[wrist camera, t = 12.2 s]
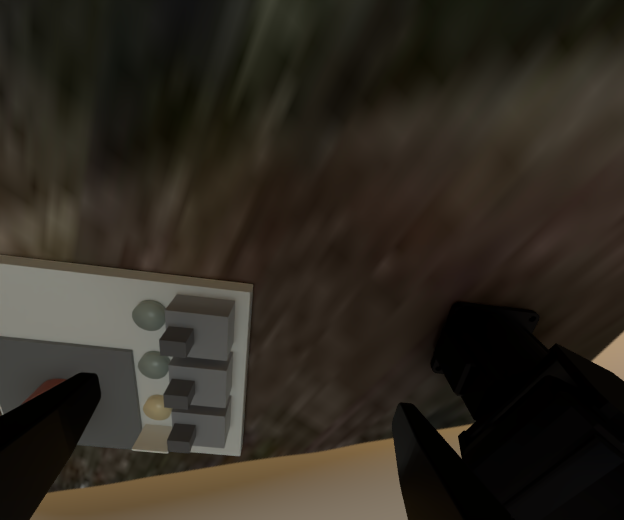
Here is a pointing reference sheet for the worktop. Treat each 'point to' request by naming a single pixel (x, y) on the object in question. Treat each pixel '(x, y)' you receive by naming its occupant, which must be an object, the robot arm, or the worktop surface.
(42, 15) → the worktop surface
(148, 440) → the breaker board
